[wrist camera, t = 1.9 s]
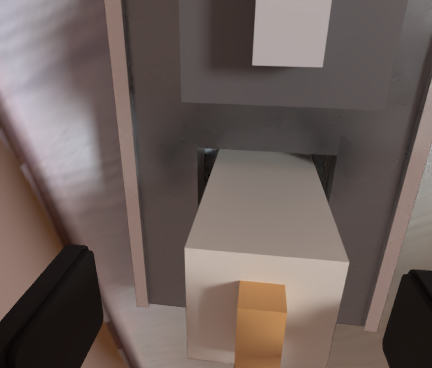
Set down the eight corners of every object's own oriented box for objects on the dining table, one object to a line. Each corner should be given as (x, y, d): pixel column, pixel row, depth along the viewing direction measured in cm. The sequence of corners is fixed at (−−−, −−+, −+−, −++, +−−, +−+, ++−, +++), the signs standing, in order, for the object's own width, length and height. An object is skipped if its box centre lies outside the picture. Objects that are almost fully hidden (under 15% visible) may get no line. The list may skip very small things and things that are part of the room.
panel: (636, -763, 7) (793, -1095, 5) (364, 298, 19) (376, 332, 17) (73, -650, 8) (10, -876, 6) (150, 277, 20) (137, 306, 18)
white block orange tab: (310, 153, 16) (359, 290, 8) (299, 231, 18) (330, 408, 10) (219, 148, 16) (175, 272, 8) (218, 224, 18) (180, 388, 10)
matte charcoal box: (339, -56, 12) (482, -204, 4) (322, 66, 14) (401, 123, 6) (223, -55, 13) (157, -187, 5) (221, 63, 15) (170, 112, 7)
